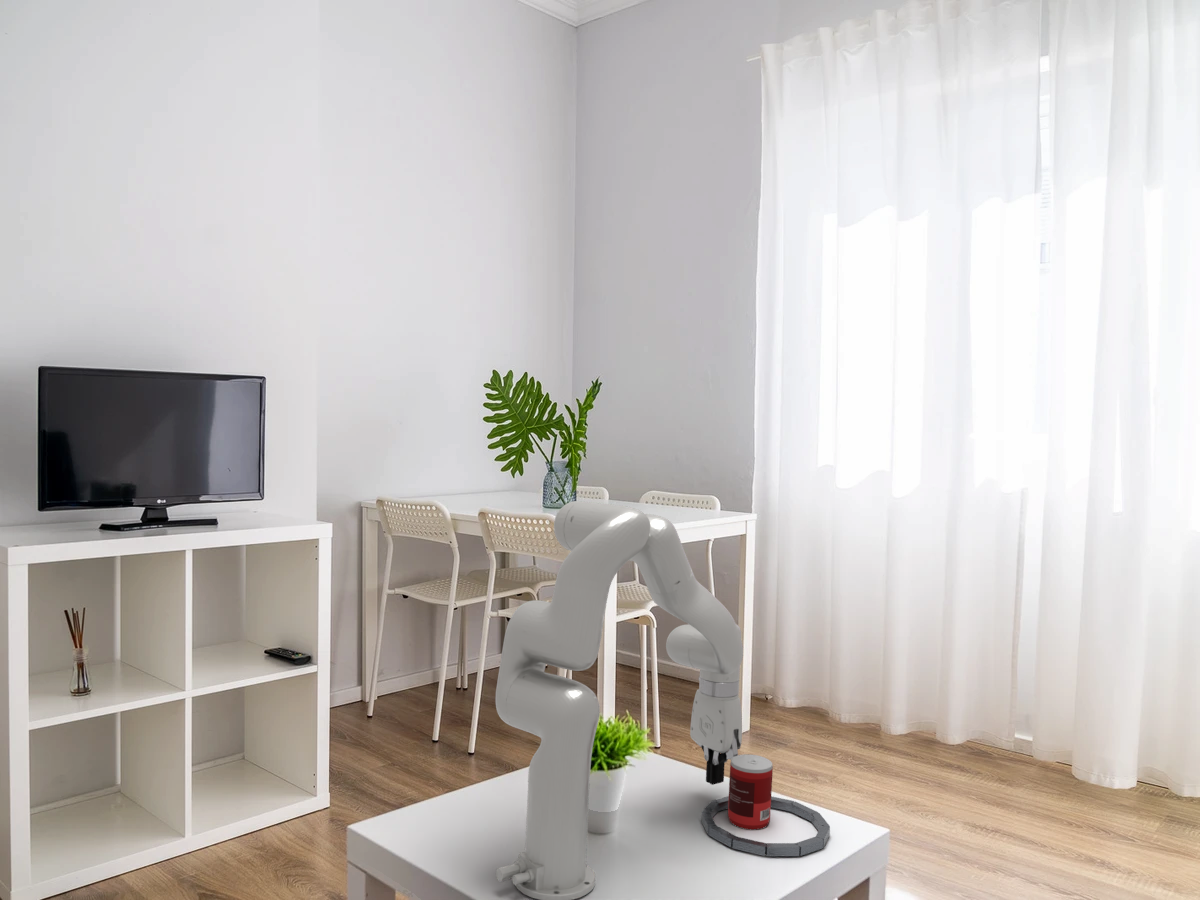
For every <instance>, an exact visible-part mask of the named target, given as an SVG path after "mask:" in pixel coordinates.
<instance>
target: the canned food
mask: <svg viewBox="0 0 1200 900" xmlns="http://www.w3.org/2000/svg"><path fill="white" fill-rule="evenodd" d="M729 764H730V765H729V786H728V796H729V802H728V809H727V817H728V821H729V822H730V823H731V824H732V825H733V824H734V826H735V825H736V826H735V827H737V826H738V828H740V829H743V828H744V829H745V830H750V829H751V830H754V829H756V830H761V828H762V829H764V828H766V827H767V826H768V825H769V823H770V820H771V808H772V807H771V796H772V791H773V790H772V788H773V770H774V769H773V762H772V761H771V760H770V759H768V758H766V757H765V756H761V755H756V754H751V753H750V754H746V753H745V754H738V755H737V756H734V757H733V758H732V759H731V760H730V763H729Z"/></svg>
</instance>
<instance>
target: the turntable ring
mask: <svg viewBox="0 0 1200 900" xmlns="http://www.w3.org/2000/svg"><path fill="white" fill-rule="evenodd" d="M728 802H729V795H727V796H724V797H719V798H717V799H713V800H710V802H709V803H708V804H707V805H706V806H705V808H703V810H702V811H701V815H700V816H701V818H700V821H701V823H702V825H703V827H704V830H705V832H706V833H707V835H708V836H709V837H711V838H713V839H715V840H716V841H718V842H720V843H722V844H724V845H726V846H727V847H729V848H732V849H734V850H738V851H742V852H746V853H750V854H755V855H760V856H765V857H801V856H804V855H808V854H810V853H813V852H816V851H819V850H821V849H823V848H825V846H826V843H827V841H828V840H829V837H830V832H831V826H830V824H829V823H828V822H827V820H825V818H824V817H823V816H822V814H821V813H819V812H818V811H817V810H814V809H812V808H811V807H808V806H806V805H804V804H801V803H800V802H797V801H795V800H790V799H786V798H782V797H781V798H780V797H776V796H772V795H771V808H772V809H777V810H780V811H781V810H783V811H786V812H790V813H793V814H795V815H796V816H799V817H801V818H803V819H805V820H807V821H809V822H811V823H812V824H813V826H814V827H815V828H816V830H817V833H816V834H815V836H813V837H809V838H807V839H804V840H801V841H798V842H789V843H788V842H784V843H783V842H775V843H774V842H771V843H769V842H768V843H767V842H762V841H759V840H753V839H751V838H750V839H748V838H745V837H740V836H736V835H735V834H733V833H732V832H729V831H727V830H726V829H723V827H720V826H718V825H717V824H716V822H715V819H714V817H715V815H717V813H718V812H721V811H723V810H728Z"/></svg>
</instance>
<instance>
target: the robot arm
mask: <svg viewBox="0 0 1200 900" xmlns="http://www.w3.org/2000/svg"><path fill="white" fill-rule="evenodd" d="M553 521H554V522H553V532H554V536H555V539H556V540H557V543H559V544H560V545H561V547H562V548H564V549H566V550H567V551H570V552H569V553H568V554H567V555H566V557H565V559H563V561H562V563H561V565H560V566H559V568H558V572H557V575H556V578H555V579H556V580H555V583H554V588H553V592H552V593H553V594H552V597H551V601H546V600H539V599H538V600H536V599H534V600H529V601H526V602H524V603H522V604H521V605H519V607H517V608H516V609H515V611H514V612H513V614H512V615H511V617H510V618H509V620H508V623H507V626H506V629H505V633H504V638H503V643H502V644H503V645H502V651H501V656H500V663H499V669H498V676H497V681H496V682H497V683H496V689H495V708H496V713H497V715H498V716H499V719H501V720H502V721H503V722H504V723H505V724H507V725H508V726H510V727H513V728H515V729H518V730H521V731H524V732H526V733H530V734H532V735H534V736H537V737H539V738H540V739H541V742H540V744H539V747H538V748H537V750H536V751H535V753H534V754H533V756H532V757H531V760H530V762H529V766H528V777H527V800H526V801H527V804H526V805H527V806H526V821H525V823H526V824H525V845H524V846H525V847H524V848H525V849H524V850H525V851H522V852H519V853H518V860H516V861H514V862H513V864H511V865H509V864H508V865H504V866H501V867H498V868H496V870H495V875H496V879H497V880H498V882H500V883H501V882H504V881H508V880H510V879H511V881H512V884H513V885H514V886H515V888H517V889H518V891H519V892H521V893H522V894H523V895H525V896H527V897H529V898H532V899H535V900H575V899H577V900H578V899H580V898H582V897H585V895H587V894H589V893H590V892H591V891H592V890H593V889H594V888H595V885H596V874H595V871H594V870H593V868H591V867H590V865H588V864H587V850H588V849H587V846H588V830H589V829H588V825H589V824H588V823H589V807H590V804H589V803H590V785H591V784H590V779H591V765H592V755H593V748H594V747H593V746H594V743H595V742H594V741H595V737H596V732H597V728H598V724H599V719H600V712H601V711H600V710H601V707H600V703H599V702H600V701H599V699H598V696H597V695H596V694H595V692H594V691H593V690H592V689H591V688H590V687H589V686H587V685H586V684H584V683H582V682H580V681H577V680H575V679H571V678H568V677H565V676H561V675H558V674H555V673H554V674H553V673H549V672H545V669H546V665H549V666H552V667H555V668H559V669H565V670H568V671H576V672H579V671H586V670H588V669H590V668H591V667H592V666H593V665H594V663H595V662H596V660H597V658H598V655H599V652H600V647H601V640H602V633H603V629H604V622H605V615H606V609H607V603H608V602H607V601H608V597H609V594H610V587H611V584H612V582H613V580H614V578H615V577H616V574H617V573H618V572H619V570H620V569H622V567H623V566H624V565H625V564H626V563H627V562H629V561H630V562H634V563H635V564H636V565H637V567H638V570H639V572H640V574H641V575H642V579H643V580H644V583H645V585H646V589H647V591H648V592H649V594H650V597H651V599H652V600H653V602H654V603H655V604H656V606H658V607H659V608H661V609H662V611H665V612H666V613H668V614H670V615H672V616H673V617H675V618H677V619H678V620H681V621H682V622H684V623H687V624H682V625H679V626H677V627H675V628H674V629H672V631H671V632H670V633H669V634H668V637H667V638H666V643H665V649H666V650H665V651H666V653H667V655H668V657H669V658H670V659H671V660H672V662H674V663H676V664H678V665H680V666H684V667H688V668H693V669H696V670H697V669H698V670H700V671H699V676H698V681H699V685H698V687H699V688H698V689H697V690H696V692H695V695H694V699H693V704H692V709H691V716H690V717H691V720H690V731H689V735H690V738H691V740H693V742H695V744H697V746H699V747H700V748H701V750H702V751H703V757H704V761H706V769H705V771H706V772H705V782H706V783H709V784H710V785H713V786H714V785H717V784H721V783H723V782H724V779H725V763H727V762H728V760H730V761H731V759H732V758H733V757H734V756H737V755H739V752H738V750H740V749H741V746H742V740H743V716H742V715H743V713H742V705H741V698H740V697H739V696H740V695H739V693H740V676H741V675H740V670H741V664H742V662H743V658H744V647H743V640H742V630H741V626H739V625H738V624H737V623H736V621H735V619H734V617H733V616H732V614H731V612H730V611H729V609H727V608H726V607H725V605H724V604H723V603H722V602H721V601H720V600H719V599H717V597H715V595H714V594H712V592H710V591H709V589H708V588H706V587H705V586H704V585H702V584H701V583H700V582H699V581H698V580H697V578H696V576H695V574H694V572H693V569H692V566H691V564H690V561H689V559H688V556H687V554H686V552H685V549H684V546H683V543H682V541H681V539H680V537H679V536H680V535H679V533H678V531H677V529H676V527H675V526H674V524H673V522H672V521H670V520H669V518H666V517H663V516H661V515H656V514H650V513H649V514H648V513H644V511H641V509H637V508H635V507H630V506H626V505H625V506H624V505H620V504H612V503H602V502H601V503H600V502H592V501H582V500H574V501H570V502H567V503H566V504H564V505H563V506H562V507H561V508H560V509H559V510H558V512H557V513H556V515H555V517H554V520H553Z"/></svg>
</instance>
